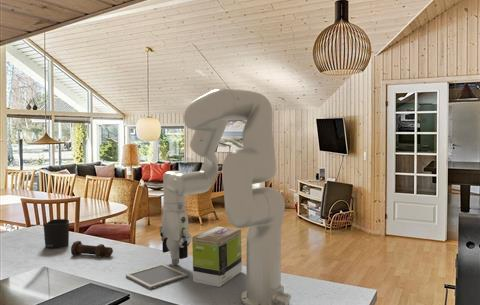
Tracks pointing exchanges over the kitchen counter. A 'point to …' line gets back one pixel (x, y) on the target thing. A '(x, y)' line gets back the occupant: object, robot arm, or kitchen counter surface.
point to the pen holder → (56, 233)
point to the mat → (156, 276)
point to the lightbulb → (173, 250)
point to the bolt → (90, 249)
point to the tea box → (216, 255)
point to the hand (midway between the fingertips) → (174, 254)
